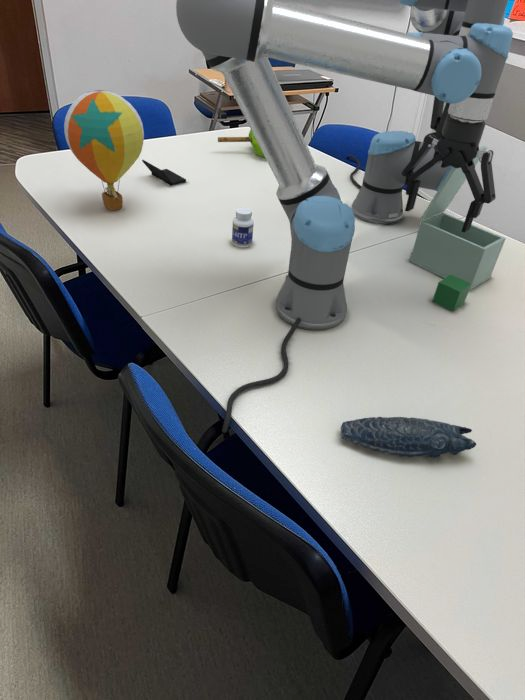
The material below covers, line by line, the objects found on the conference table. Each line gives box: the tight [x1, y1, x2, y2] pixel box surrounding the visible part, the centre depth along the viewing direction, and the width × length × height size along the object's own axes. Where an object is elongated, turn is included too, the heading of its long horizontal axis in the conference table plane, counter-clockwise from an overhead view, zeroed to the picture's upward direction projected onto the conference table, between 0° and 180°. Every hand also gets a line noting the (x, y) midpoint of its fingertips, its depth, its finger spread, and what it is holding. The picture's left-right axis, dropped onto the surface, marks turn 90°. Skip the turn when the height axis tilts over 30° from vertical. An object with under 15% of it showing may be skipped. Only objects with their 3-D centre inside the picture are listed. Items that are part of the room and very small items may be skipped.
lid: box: [420, 145, 488, 221], centre depth 124 cm, size 18×10×8 cm
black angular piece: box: [141, 159, 187, 187], centre depth 162 cm, size 12×7×10 cm
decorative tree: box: [217, 129, 266, 159], centre depth 187 cm, size 18×10×30 cm
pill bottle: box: [231, 207, 255, 248], centre depth 132 cm, size 5×5×9 cm
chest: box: [409, 212, 507, 292], centre depth 129 cm, size 17×10×11 cm, turn 43°
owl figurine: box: [340, 416, 477, 458], centre depth 82 cm, size 7×21×5 cm, turn 84°
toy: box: [63, 89, 145, 212], centre depth 136 cm, size 20×20×30 cm
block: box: [431, 275, 471, 312], centre depth 118 cm, size 5×5×5 cm
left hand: (436, 219), depth 114 cm, fingers open, 13 cm apart
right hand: (440, 164), depth 123 cm, fingers closed on lid, 2 cm apart
